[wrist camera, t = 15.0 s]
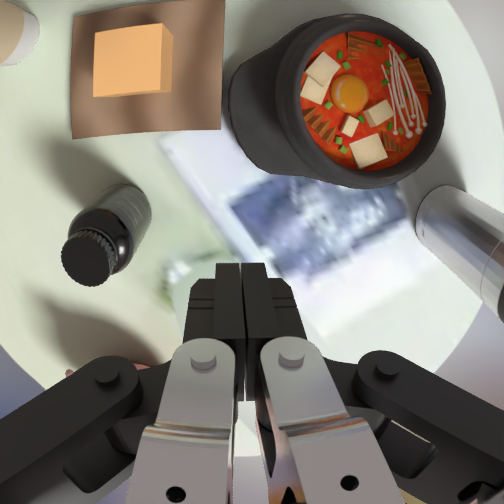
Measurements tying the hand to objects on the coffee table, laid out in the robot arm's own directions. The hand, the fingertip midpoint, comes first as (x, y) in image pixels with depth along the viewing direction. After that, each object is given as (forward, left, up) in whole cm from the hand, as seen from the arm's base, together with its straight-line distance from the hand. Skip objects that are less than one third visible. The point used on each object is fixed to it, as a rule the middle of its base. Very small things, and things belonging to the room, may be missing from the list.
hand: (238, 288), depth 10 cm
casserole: (-12, -7, -25) cm, 29 cm away
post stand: (+9, -10, -25) cm, 28 cm away
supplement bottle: (+12, +6, -25) cm, 29 cm away
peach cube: (+9, -10, -24) cm, 27 cm away
